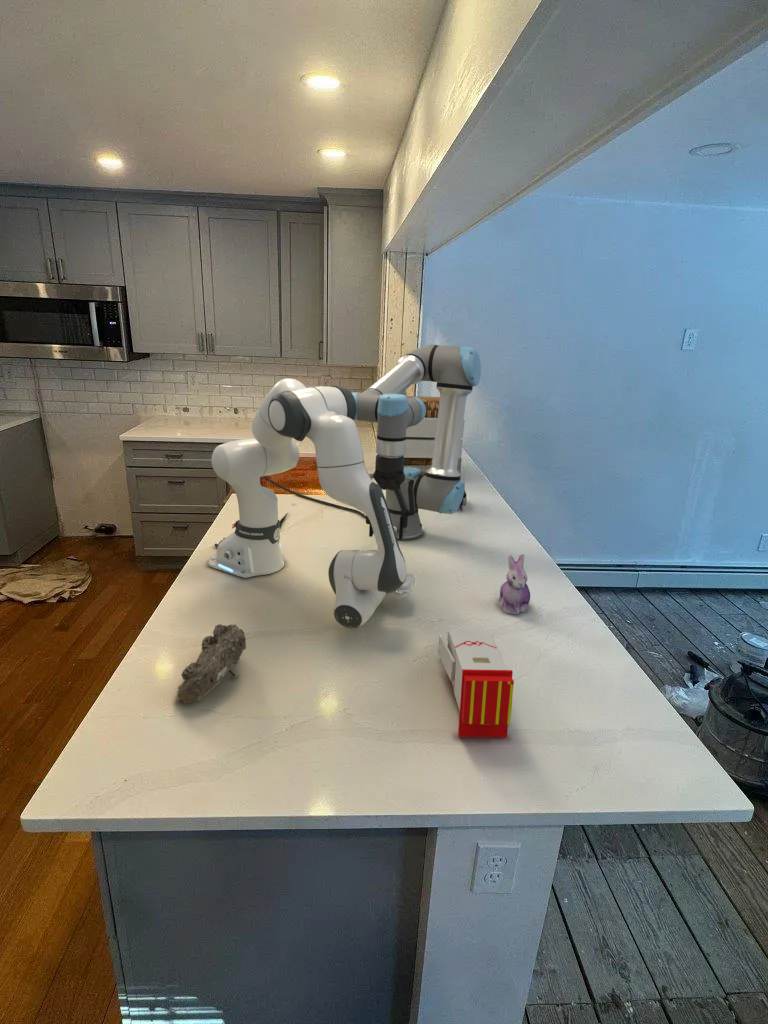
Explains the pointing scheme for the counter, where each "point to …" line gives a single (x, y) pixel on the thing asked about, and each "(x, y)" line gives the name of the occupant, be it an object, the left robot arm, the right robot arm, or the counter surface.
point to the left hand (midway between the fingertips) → (385, 567)
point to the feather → (282, 520)
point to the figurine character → (463, 501)
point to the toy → (478, 682)
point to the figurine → (515, 588)
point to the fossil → (212, 662)
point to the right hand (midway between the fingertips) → (386, 536)
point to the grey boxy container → (424, 436)
